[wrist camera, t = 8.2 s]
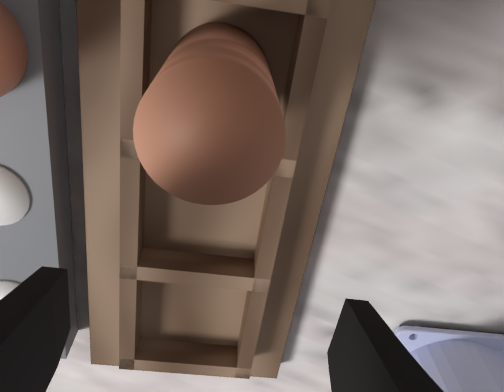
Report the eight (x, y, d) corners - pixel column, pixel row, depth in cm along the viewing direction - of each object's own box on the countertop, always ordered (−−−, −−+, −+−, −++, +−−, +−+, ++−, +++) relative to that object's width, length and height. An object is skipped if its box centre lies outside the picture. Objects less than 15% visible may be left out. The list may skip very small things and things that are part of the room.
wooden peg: (276, 30, 17) (299, 73, 11) (260, 128, 19) (272, 212, 13) (172, 15, 17) (134, 50, 10) (166, 116, 19) (132, 197, 12)
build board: (381, -52, 17) (402, -52, 14) (275, 364, 28) (278, 400, 26) (81, -105, 16) (55, -113, 13) (95, 350, 27) (83, 386, 24)
